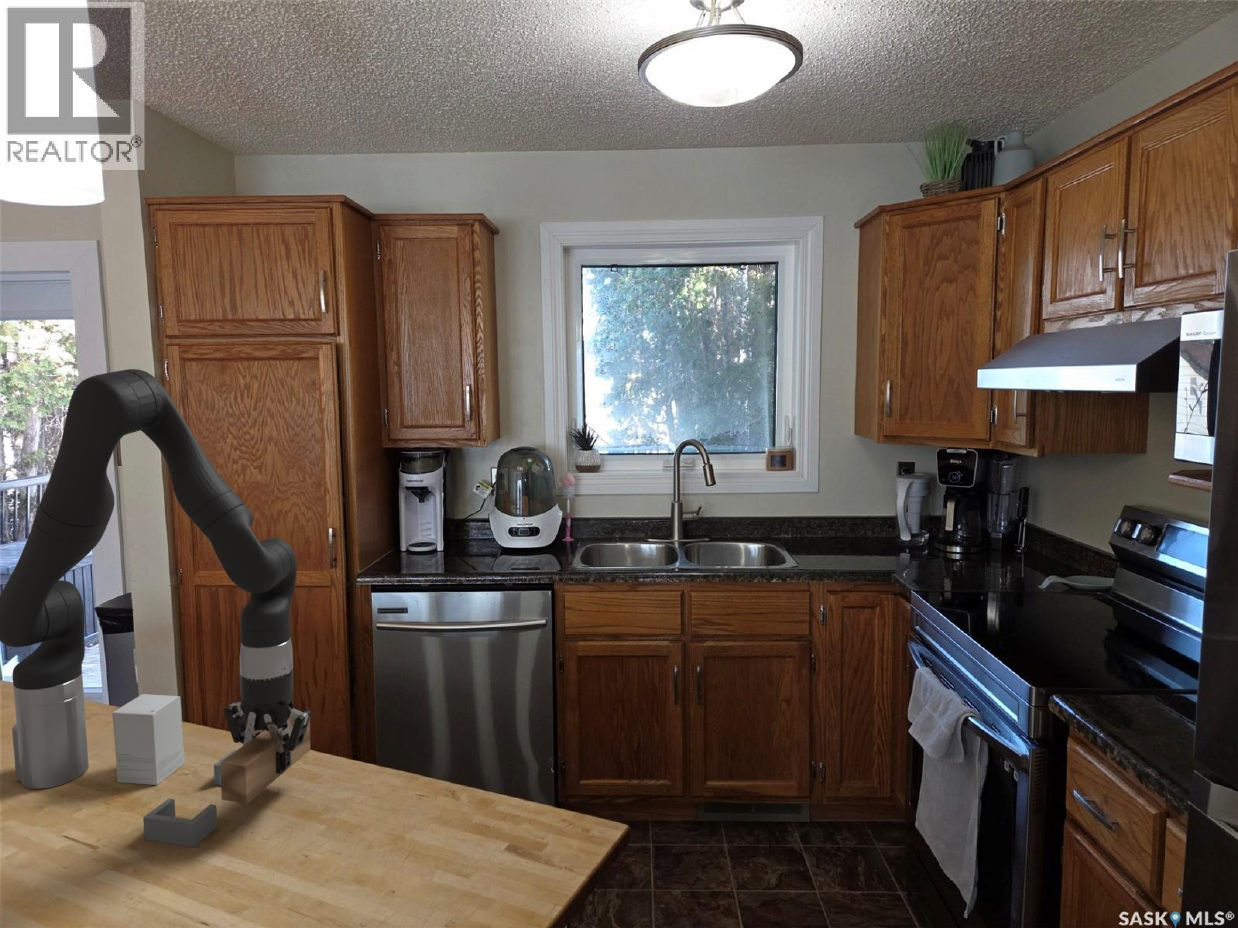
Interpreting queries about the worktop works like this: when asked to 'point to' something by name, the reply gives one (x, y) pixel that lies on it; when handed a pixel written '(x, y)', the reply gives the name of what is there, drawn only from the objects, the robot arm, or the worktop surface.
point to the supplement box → (148, 739)
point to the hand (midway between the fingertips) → (268, 768)
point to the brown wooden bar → (255, 766)
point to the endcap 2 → (219, 769)
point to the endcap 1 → (178, 825)
